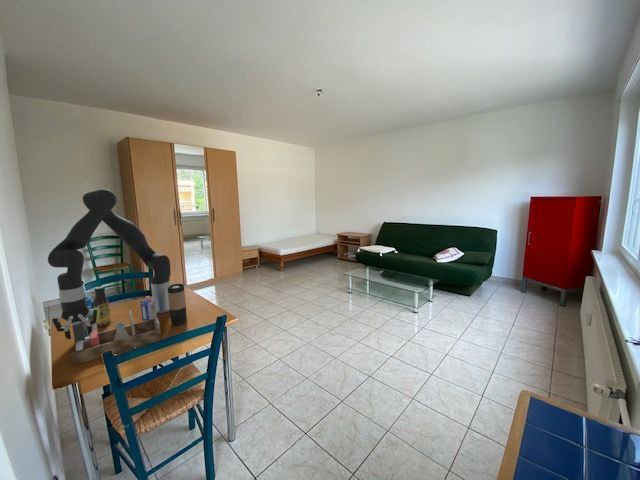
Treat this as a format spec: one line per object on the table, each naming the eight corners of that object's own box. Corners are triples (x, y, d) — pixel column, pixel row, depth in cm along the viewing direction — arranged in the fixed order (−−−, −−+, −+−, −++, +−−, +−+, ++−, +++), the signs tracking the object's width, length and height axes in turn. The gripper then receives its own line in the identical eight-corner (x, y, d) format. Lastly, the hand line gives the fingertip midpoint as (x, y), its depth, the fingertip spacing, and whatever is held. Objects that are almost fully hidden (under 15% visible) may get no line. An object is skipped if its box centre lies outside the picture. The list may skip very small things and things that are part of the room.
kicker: (99, 341, 121) (95, 314, 119) (99, 356, 111) (94, 326, 108) (79, 347, 117) (74, 318, 114) (76, 362, 106) (71, 331, 104)
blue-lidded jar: (73, 341, 123) (66, 300, 119) (97, 333, 129) (91, 294, 125) (76, 348, 117) (69, 305, 114) (101, 340, 123) (94, 299, 120)
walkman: (142, 321, 141) (139, 300, 139) (147, 319, 143) (145, 298, 141) (152, 324, 138) (149, 302, 136) (157, 322, 140) (155, 300, 138)
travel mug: (189, 322, 141) (186, 286, 137) (174, 327, 135) (170, 290, 132) (184, 317, 146) (180, 282, 142) (168, 322, 140) (165, 286, 137)
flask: (119, 339, 124) (116, 319, 122) (135, 339, 125) (132, 319, 123) (108, 348, 117) (105, 327, 115) (125, 347, 117) (122, 327, 116)
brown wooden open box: (157, 327, 135) (154, 305, 133) (161, 339, 124) (158, 315, 122) (76, 349, 116) (71, 323, 114) (73, 365, 106) (68, 337, 103)
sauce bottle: (102, 327, 135) (97, 290, 131) (92, 326, 136) (86, 289, 132) (115, 321, 141) (109, 285, 137) (105, 320, 142) (99, 285, 139)
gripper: (96, 291, 115) (101, 327, 118) (49, 299, 106) (56, 338, 109) (95, 296, 109) (101, 334, 112) (46, 305, 101) (54, 346, 104)
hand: (79, 336), depth 111 cm, fingers open, 5 cm apart
